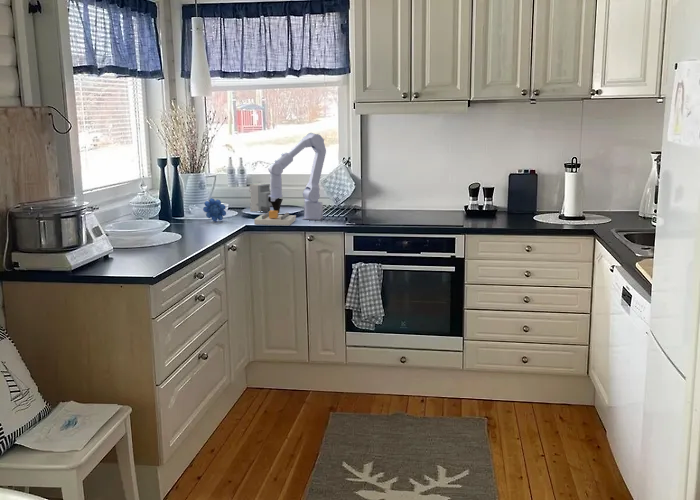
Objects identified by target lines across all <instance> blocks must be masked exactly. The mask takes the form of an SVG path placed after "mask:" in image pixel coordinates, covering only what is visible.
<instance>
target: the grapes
mask: <svg viewBox="0 0 700 500" xmlns="http://www.w3.org/2000/svg"><path fill="white" fill-rule="evenodd" d="M202 210H203V212H204V213H206V214H205V216H206V218H208V219H211V220H212V222H216V221H222V220H223V219H224V216H225V217H226V215H227V212H226V205H225V204H223V203H222V202H221V200H220V199H216V200H215V199H214V198H212V197H211V198H209V200H206V201H204V207H203V209H202Z"/></svg>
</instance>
